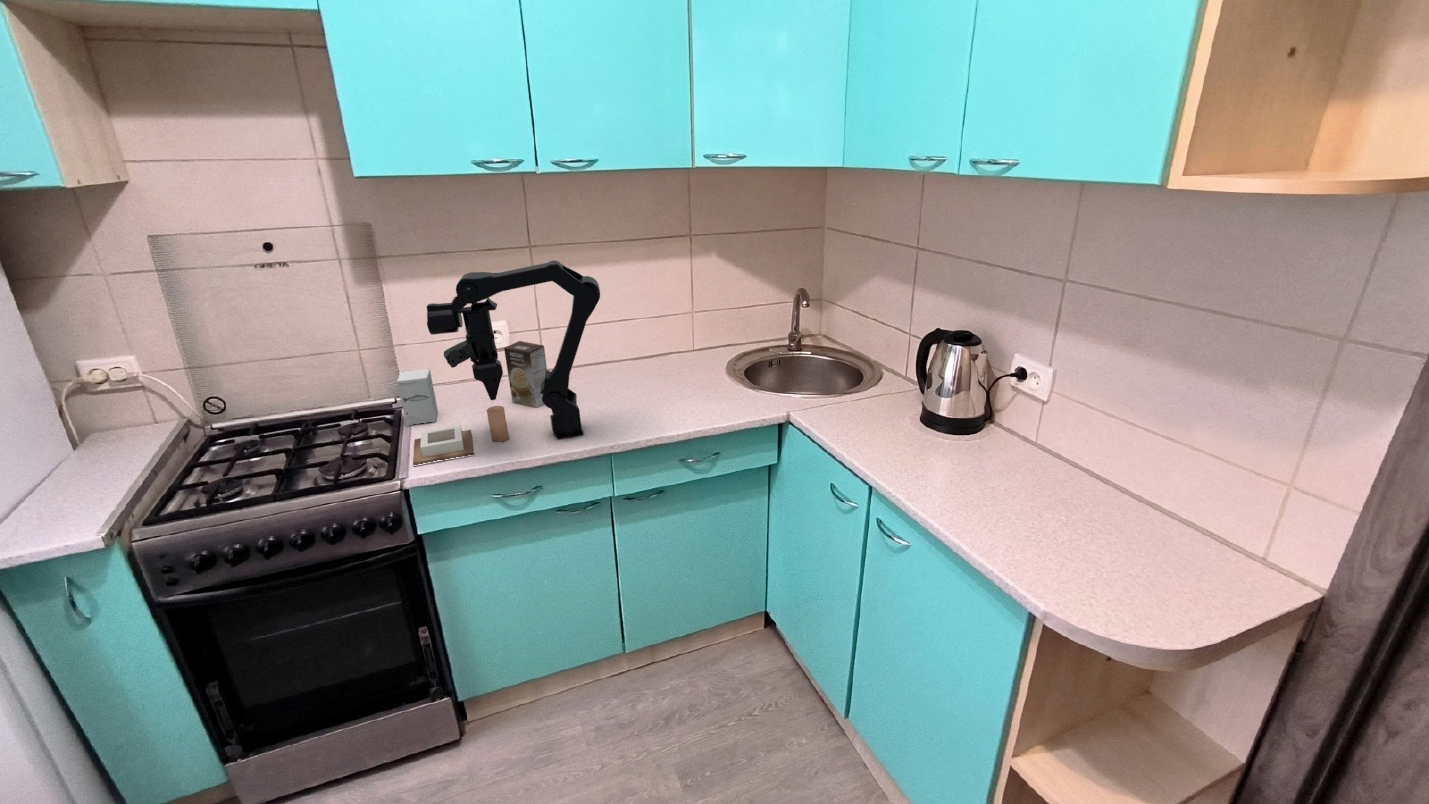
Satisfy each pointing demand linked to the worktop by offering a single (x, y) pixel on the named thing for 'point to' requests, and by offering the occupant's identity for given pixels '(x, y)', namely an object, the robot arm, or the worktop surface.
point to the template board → (442, 445)
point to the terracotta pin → (497, 424)
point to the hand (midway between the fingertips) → (491, 393)
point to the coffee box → (526, 372)
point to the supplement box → (417, 396)
